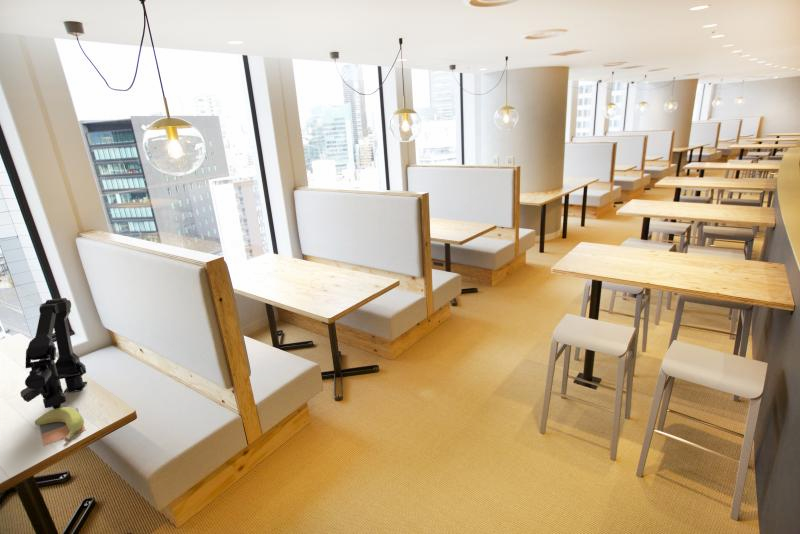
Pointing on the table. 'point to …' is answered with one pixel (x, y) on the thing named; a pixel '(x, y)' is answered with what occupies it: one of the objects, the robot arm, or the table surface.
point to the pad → (58, 434)
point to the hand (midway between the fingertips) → (57, 410)
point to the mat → (52, 426)
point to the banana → (63, 419)
